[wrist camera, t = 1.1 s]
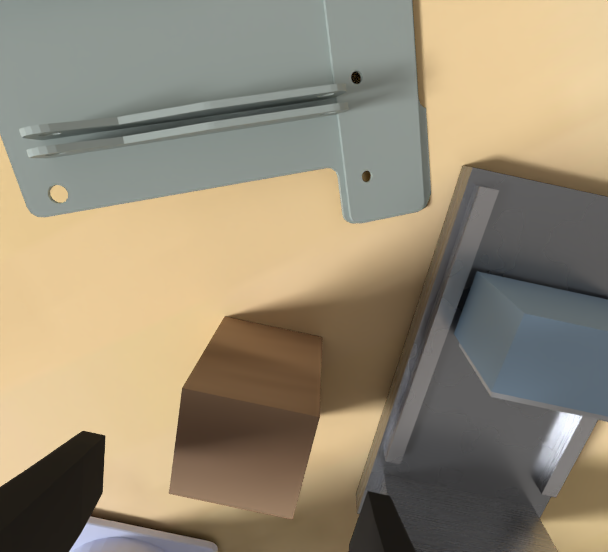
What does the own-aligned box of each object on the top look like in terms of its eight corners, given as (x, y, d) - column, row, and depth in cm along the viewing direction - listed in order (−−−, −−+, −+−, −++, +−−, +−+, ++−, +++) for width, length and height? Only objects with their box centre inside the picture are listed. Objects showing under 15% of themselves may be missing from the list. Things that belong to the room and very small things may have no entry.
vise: (513, 527, 19) (572, 652, 14) (355, 494, 19) (364, 608, 14) (675, 212, 14) (844, 246, 9) (462, 165, 14) (528, 177, 9)
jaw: (591, 371, 14) (669, 439, 11) (451, 341, 14) (487, 400, 11) (626, 303, 14) (721, 356, 10) (476, 271, 14) (524, 313, 10)
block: (302, 417, 18) (292, 519, 13) (212, 398, 17) (169, 493, 13) (322, 336, 16) (319, 416, 12) (224, 316, 16) (182, 388, 11)
